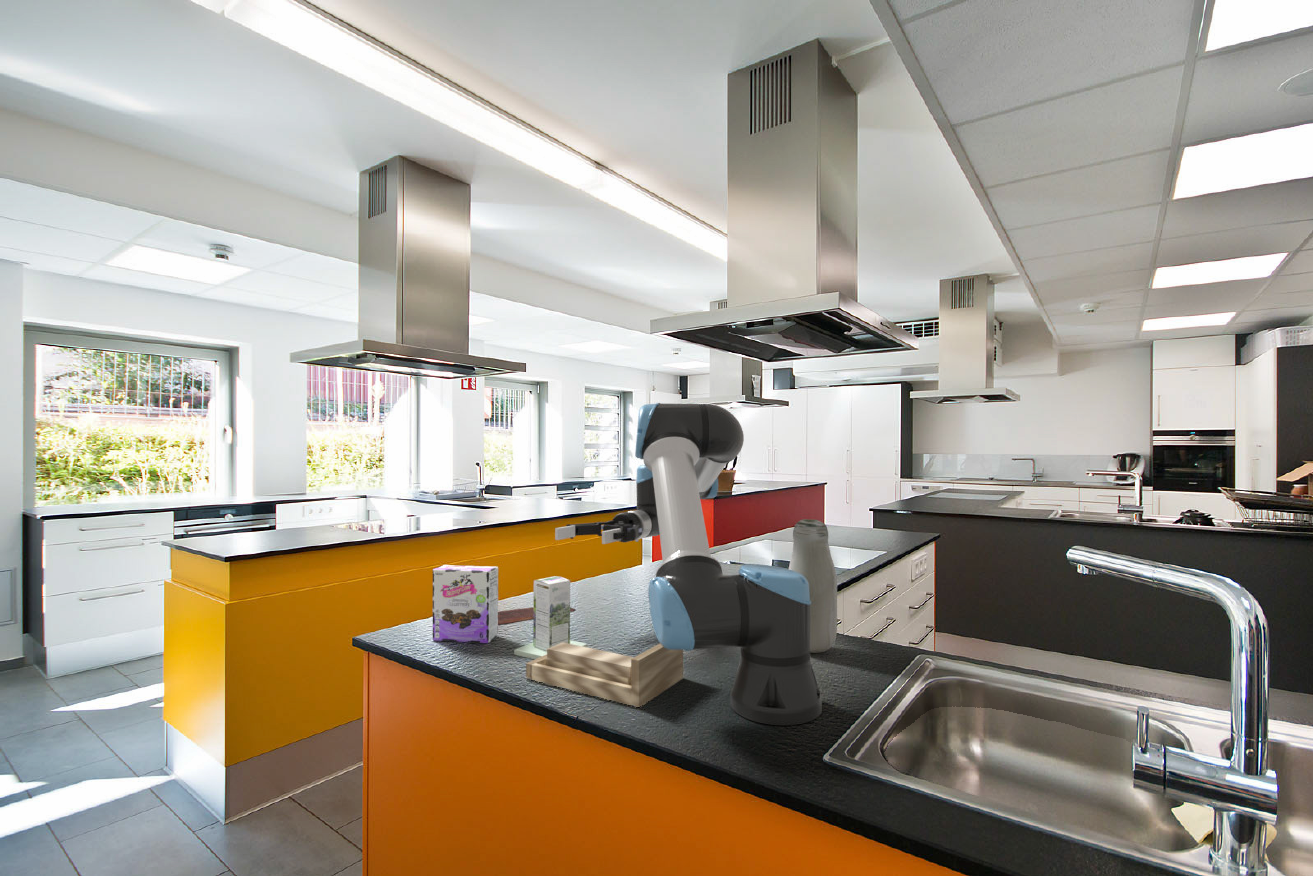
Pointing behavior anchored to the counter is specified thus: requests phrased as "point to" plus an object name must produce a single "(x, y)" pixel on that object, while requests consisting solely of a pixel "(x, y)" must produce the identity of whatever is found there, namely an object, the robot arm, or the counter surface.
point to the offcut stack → (590, 662)
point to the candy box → (465, 603)
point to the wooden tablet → (517, 615)
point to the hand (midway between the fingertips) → (579, 536)
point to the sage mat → (538, 650)
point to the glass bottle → (817, 580)
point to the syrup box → (551, 612)
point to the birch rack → (647, 682)
